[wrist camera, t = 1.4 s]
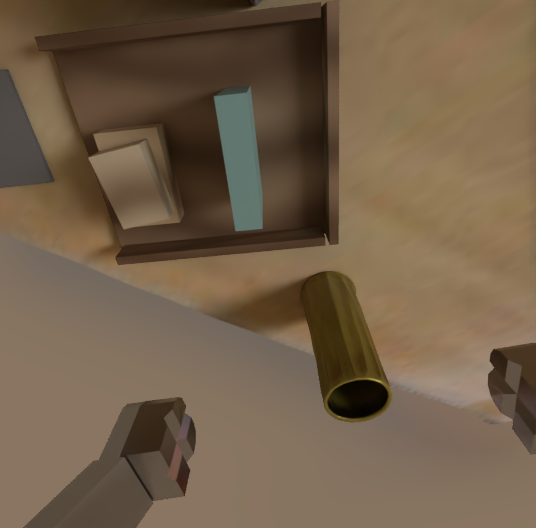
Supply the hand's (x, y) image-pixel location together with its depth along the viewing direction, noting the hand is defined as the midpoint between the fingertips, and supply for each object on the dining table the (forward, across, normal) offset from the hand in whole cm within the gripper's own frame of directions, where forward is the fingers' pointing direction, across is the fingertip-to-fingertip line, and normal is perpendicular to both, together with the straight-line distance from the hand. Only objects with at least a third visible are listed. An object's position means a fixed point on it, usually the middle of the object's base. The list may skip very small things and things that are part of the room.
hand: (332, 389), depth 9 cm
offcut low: (+24, +12, -3) cm, 27 cm away
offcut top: (+22, +12, -3) cm, 25 cm away
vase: (+26, -2, +14) cm, 30 cm away
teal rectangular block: (+24, +3, -3) cm, 25 cm away
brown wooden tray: (+25, +6, -4) cm, 26 cm away
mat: (+25, +24, -9) cm, 35 cm away
